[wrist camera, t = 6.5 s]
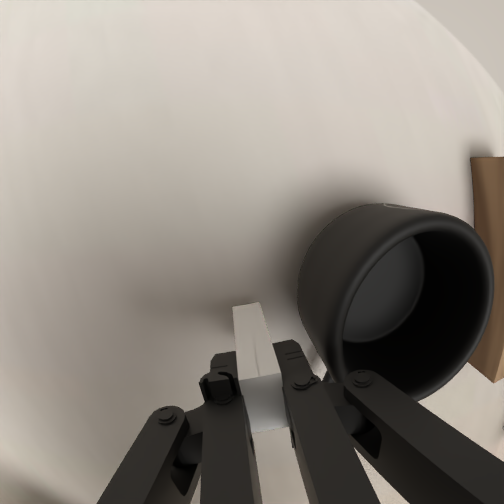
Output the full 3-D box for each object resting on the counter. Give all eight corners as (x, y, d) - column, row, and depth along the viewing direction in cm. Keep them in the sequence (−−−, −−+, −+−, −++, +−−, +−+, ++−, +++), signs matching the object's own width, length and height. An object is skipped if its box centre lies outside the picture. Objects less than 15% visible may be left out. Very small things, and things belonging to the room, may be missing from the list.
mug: (326, 174, 16) (390, 170, 10) (439, 235, 18) (517, 259, 11) (246, 361, 18) (257, 444, 12) (363, 389, 20) (405, 455, 13)
